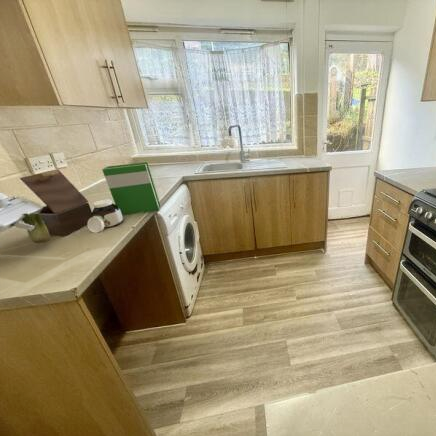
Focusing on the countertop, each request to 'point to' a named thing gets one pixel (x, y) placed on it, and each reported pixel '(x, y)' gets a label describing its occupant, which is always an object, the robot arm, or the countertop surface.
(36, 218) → the fennel bulb
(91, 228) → the spread jar
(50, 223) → the chest
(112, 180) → the hardback book
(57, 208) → the chest lid
